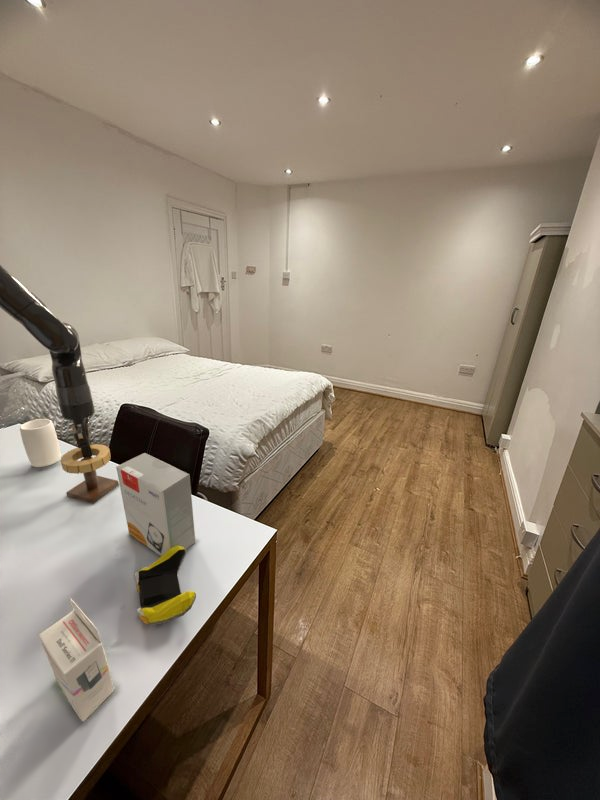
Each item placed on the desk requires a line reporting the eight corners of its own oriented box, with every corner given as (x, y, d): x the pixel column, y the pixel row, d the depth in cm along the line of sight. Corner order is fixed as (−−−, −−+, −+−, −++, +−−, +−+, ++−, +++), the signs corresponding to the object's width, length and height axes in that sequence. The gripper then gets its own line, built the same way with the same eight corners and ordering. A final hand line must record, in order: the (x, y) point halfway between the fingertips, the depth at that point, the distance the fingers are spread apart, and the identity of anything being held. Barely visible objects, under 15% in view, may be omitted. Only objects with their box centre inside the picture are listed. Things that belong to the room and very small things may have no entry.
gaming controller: (185, 558, 73) (136, 574, 68) (183, 540, 71) (133, 555, 66) (199, 618, 61) (141, 642, 56) (197, 597, 59) (136, 621, 54)
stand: (67, 496, 90) (58, 464, 86) (94, 478, 98) (87, 448, 94) (93, 503, 88) (85, 471, 84) (118, 484, 96) (113, 454, 92)
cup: (25, 472, 99) (12, 431, 94) (38, 457, 107) (26, 419, 101) (56, 469, 101) (45, 429, 96) (67, 455, 109) (57, 417, 104)
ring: (51, 468, 86) (49, 460, 85) (89, 448, 96) (87, 441, 95) (85, 477, 83) (83, 469, 82) (120, 455, 93) (119, 448, 92)
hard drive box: (127, 535, 78) (114, 465, 71) (155, 516, 84) (145, 451, 77) (171, 564, 71) (161, 490, 64) (197, 541, 77) (191, 472, 70)
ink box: (54, 683, 50) (30, 620, 45) (88, 655, 54) (70, 593, 49) (81, 725, 46) (58, 660, 40) (116, 690, 50) (99, 627, 44)
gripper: (61, 392, 90) (74, 445, 97) (55, 410, 79) (70, 470, 85) (92, 388, 94) (103, 440, 100) (90, 406, 82) (103, 463, 89)
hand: (88, 454), depth 93 cm, fingers closed on ring, 2 cm apart
